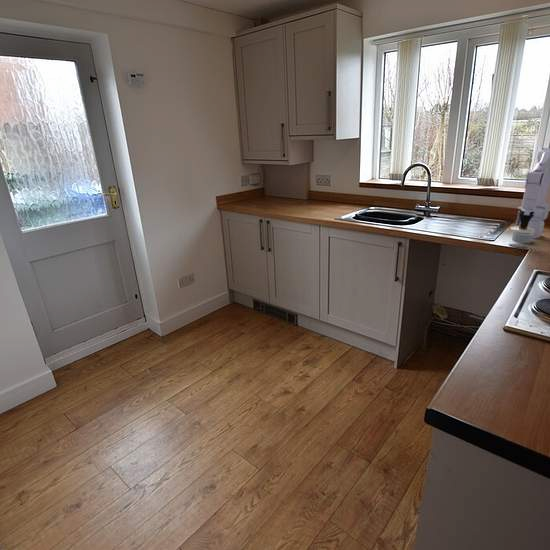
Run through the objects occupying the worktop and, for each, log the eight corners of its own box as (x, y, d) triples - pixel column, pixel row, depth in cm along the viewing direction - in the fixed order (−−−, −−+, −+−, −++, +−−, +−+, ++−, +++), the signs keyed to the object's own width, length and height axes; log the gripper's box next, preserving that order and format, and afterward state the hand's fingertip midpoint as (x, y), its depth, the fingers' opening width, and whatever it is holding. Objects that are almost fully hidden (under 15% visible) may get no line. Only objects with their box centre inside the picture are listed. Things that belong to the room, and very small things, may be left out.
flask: (514, 226, 213) (518, 208, 209) (515, 225, 215) (519, 207, 211) (533, 229, 208) (538, 210, 204) (534, 228, 210) (539, 209, 206)
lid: (517, 226, 183) (519, 219, 181) (539, 231, 175) (541, 223, 173) (505, 229, 178) (507, 221, 177) (528, 234, 170) (530, 226, 169)
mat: (513, 243, 183) (514, 242, 183) (531, 247, 177) (531, 246, 176) (504, 246, 179) (505, 245, 179) (522, 250, 173) (522, 249, 173)
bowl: (517, 238, 191) (519, 229, 190) (533, 242, 185) (536, 233, 183) (508, 240, 188) (510, 232, 186) (525, 244, 181) (527, 235, 180)
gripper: (520, 195, 178) (514, 222, 184) (519, 200, 167) (512, 229, 172) (538, 196, 175) (531, 224, 180) (538, 201, 164) (530, 231, 169)
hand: (523, 227), depth 176 cm, fingers closed on lid, 4 cm apart
